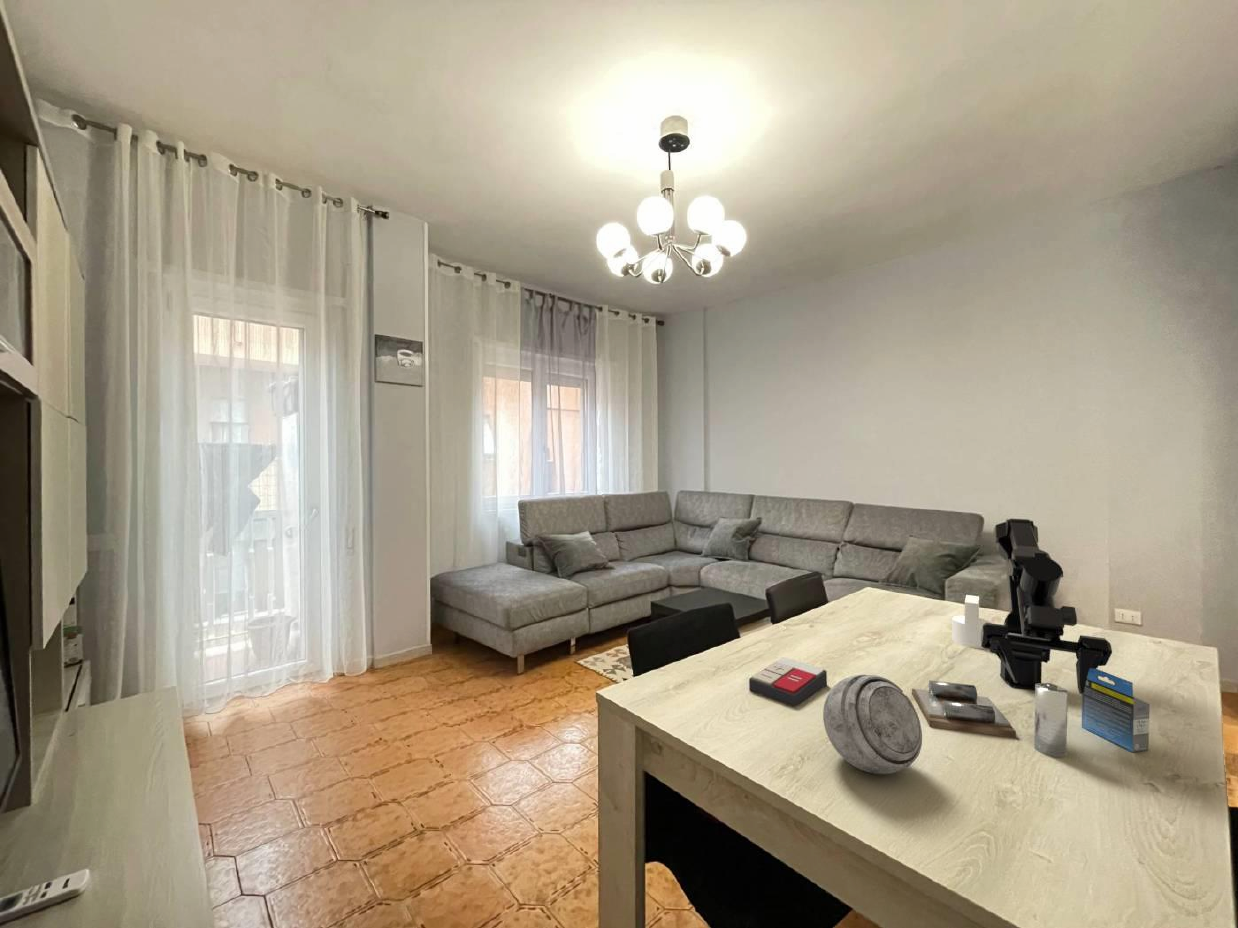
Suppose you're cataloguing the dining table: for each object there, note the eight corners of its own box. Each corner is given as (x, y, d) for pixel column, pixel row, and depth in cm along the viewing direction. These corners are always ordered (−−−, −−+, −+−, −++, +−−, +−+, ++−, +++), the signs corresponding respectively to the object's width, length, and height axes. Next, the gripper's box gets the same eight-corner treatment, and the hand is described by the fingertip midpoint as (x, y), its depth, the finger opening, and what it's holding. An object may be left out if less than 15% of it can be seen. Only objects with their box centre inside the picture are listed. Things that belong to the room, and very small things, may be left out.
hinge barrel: (1058, 745, 94) (1059, 681, 93) (1071, 759, 89) (1073, 692, 89) (1029, 741, 95) (1030, 678, 95) (1041, 755, 91) (1042, 688, 90)
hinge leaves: (986, 698, 109) (987, 684, 109) (1012, 728, 97) (1012, 712, 97) (914, 690, 113) (914, 676, 113) (930, 718, 101) (930, 702, 101)
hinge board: (987, 702, 110) (987, 697, 110) (1015, 737, 96) (1015, 731, 96) (911, 693, 114) (912, 688, 114) (929, 726, 100) (929, 720, 100)
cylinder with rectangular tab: (953, 634, 151) (953, 592, 150) (991, 641, 145) (992, 597, 145) (950, 643, 143) (951, 600, 143) (991, 651, 138) (992, 605, 138)
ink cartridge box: (1150, 751, 92) (1152, 681, 92) (1132, 753, 91) (1133, 683, 91) (1096, 725, 101) (1097, 661, 100) (1079, 726, 100) (1080, 662, 100)
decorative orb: (874, 804, 78) (875, 704, 78) (804, 753, 92) (804, 667, 91) (940, 779, 84) (942, 686, 84) (866, 734, 97) (866, 654, 97)
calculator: (748, 675, 116) (782, 653, 126) (748, 694, 116) (782, 671, 126) (794, 691, 108) (827, 667, 118) (795, 712, 108) (827, 685, 118)
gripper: (983, 581, 103) (988, 656, 94) (1109, 594, 94) (1130, 678, 84) (978, 611, 110) (983, 683, 101) (1096, 625, 101) (1113, 706, 91)
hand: (1048, 687), depth 94 cm, fingers open, 9 cm apart
